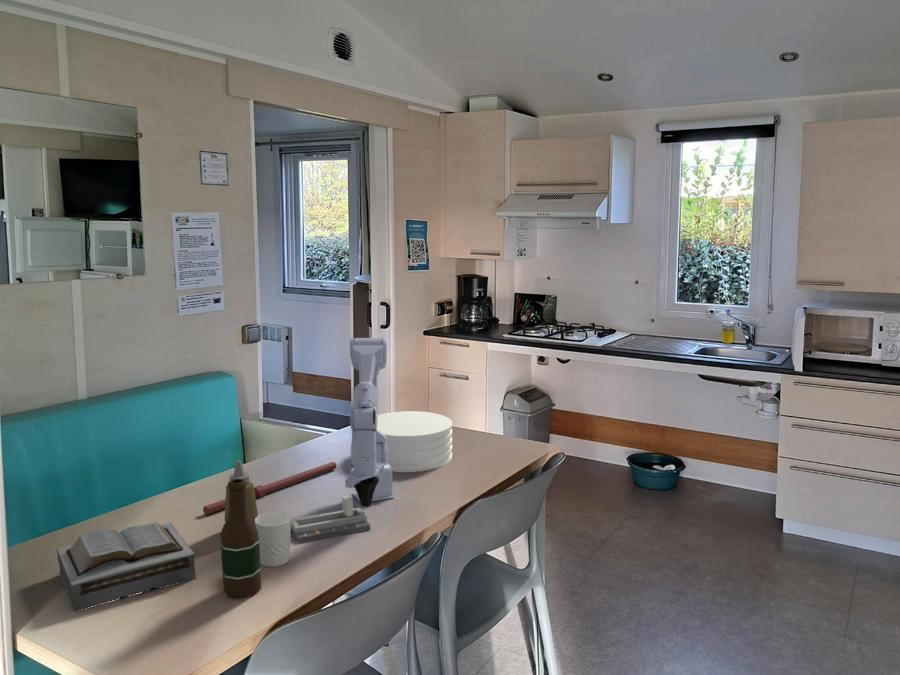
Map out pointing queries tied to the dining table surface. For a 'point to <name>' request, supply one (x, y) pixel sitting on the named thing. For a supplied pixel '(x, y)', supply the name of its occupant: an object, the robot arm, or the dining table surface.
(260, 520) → the white cup
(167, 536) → the bible
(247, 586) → the sauce bottle
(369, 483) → the robot arm
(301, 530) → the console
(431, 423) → the plate stack
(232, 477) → the squeeze bottle
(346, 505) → the fader
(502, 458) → the dining table surface
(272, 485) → the red long thin rod
